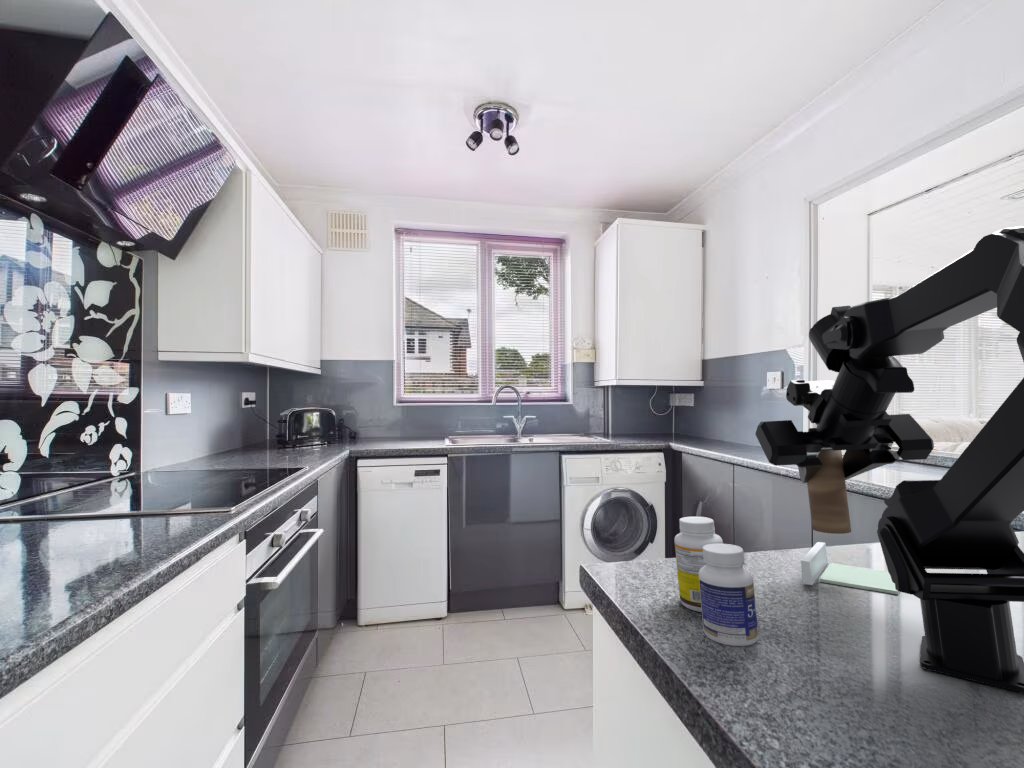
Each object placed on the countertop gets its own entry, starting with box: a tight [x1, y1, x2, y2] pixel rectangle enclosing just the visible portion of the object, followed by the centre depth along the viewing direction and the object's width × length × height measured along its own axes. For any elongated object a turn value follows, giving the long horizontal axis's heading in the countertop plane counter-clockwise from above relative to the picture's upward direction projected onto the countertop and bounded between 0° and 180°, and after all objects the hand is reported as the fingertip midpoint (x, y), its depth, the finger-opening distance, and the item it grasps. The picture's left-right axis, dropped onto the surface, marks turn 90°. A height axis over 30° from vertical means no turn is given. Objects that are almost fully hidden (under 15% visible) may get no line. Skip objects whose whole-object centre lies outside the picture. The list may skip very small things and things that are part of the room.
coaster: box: [819, 562, 900, 595], centre depth 61 cm, size 8×8×1 cm
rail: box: [800, 541, 829, 586], centre depth 64 cm, size 11×1×3 cm, turn 137°
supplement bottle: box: [673, 516, 724, 613], centre depth 56 cm, size 6×6×10 cm
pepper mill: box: [806, 449, 852, 535], centre depth 63 cm, size 4×4×13 cm
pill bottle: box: [699, 543, 760, 647], centre depth 48 cm, size 5×5×9 cm
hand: (820, 479), depth 64 cm, fingers closed on pepper mill, 4 cm apart
